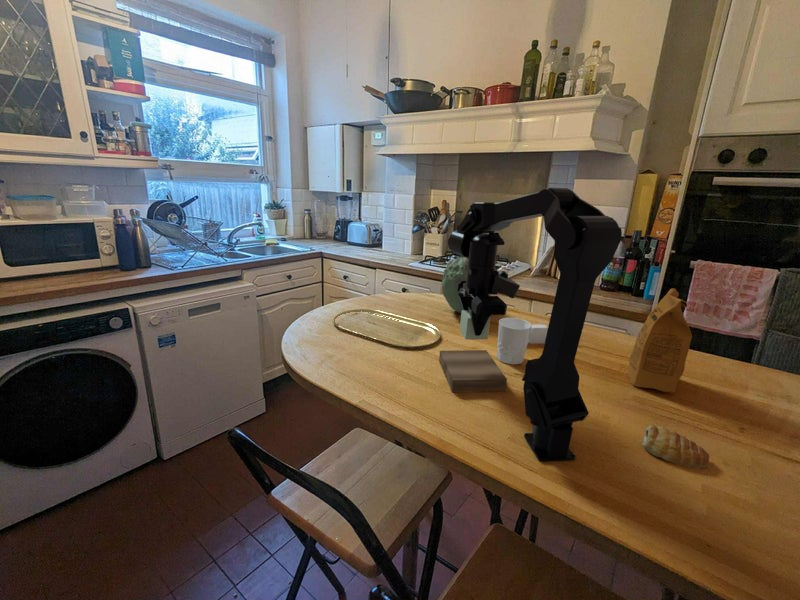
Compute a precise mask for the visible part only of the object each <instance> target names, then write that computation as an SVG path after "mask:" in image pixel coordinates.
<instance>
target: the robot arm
mask: <svg viewBox="0 0 800 600" xmlns="http://www.w3.org/2000/svg"><path fill="white" fill-rule="evenodd" d="M540 217H543V222H544V229H545V231H546V232H547V233H548V235H549V236H550V237H551V239H552V240H553V241H554V250H553V251H554V252H553V257H554V260H555V263H556V266H557V269H558V270H559V279H558V283H557V287H556V290H555V296H554V300H553V304H552V308H551V313H550V318H549V322H548V326H547V327H548V330H547V335H546V339H545V343H543V344H544V345H543V348H542V353H541V355H540V356H539V357H537V358H531V359H528V360H527V361H526V363H525V369H524V370H525V371H524V374H523V376H522V378H521V382H523V385H522V386H523V399H524V409H525V415H526V417H528V418H529V420H530V424H531V425H532V426H533V427H532V432H529V433H528V432H527V433H524V434H523V438H524V439H525V440H526V443H527V444H528V446H529V447H530V449H531V450H532V453H534V456H535V457H536V458H537V460H538V461H540V462H552V461H553V462H554V461H555V462H556V461H558V462H559V461H574V460H575V459H576V455H575V454H574V452H573V451H572V450H571V448H570V444H571V441H572V435H573V432H574V428H573V424H574V423H576V422H584V420H586V418H587V417H588V416H589V410H588V408H587V406H586V403H585V402H584V399H583V396H582V394H581V392H580V389H579V387H580V386H579V385H580V375H579V371H578V368H577V367H576V363H575V360H576V356H577V352H578V348H579V344H580V340H581V337H582V332H583V329H584V325H585V322H586V319H587V317H586V316H587V314H588V310H589V307H590V302H591V299H592V295H593V291H594V289H595V283H596V280H597V279H598V277H599V276H600V274H602V273H603V271H605V269H606V268H607V267H608V266H609V265H610V264H611V262H612V261H613V258H615V257H614V256H615V254H616V252H617V249H618V248H619V246H620V243H621V240H622V228H621V227H620V226H619V224H618V222H617V221H616V219H614V218H613V217H610V216H608V215H605V213H604V212H603V211H601V210H600V209H599V208H597V207H596V206H594V205H592V204H591V203H590V202H589V203H588V202H587V201H585V200H583V199H582V198H580V197H579V195H578V194H576V192H575V191H573V190H571V189H570V188H567V187H545V188H543V189H542V190H539V191H536V192H533V193H530V194H529V193H528V194H525V195H521V196H518V197H514V198H511V199H507V200H504V201H503V200H502V201H500V202H490V201H489V202H488V201H487V202H486V201H485V202H484V201H483V202H476V201H475V202H473V203H471V205H469V208H468V210H467V211H466V214H465V216H464V217H463V219H462V221H461V223H460V224H456V230H454V231H453V232H451V234H450V235H449V238H448V240H447V247H448V249H449V251H451V252H452V253H454V254H456V255H457V256H461V257H462V258H463V257H466V258H468V265H465V270H466V271H467V277H458V278H457V279H456V280H455V284H454V289H455V290H456V291H460V288H462V290H461V293H458V296H459V299H460V302H461V305H462V308H463V310H469V313H470V317H471V321H472V325H473V329H474V333H475V335H476V336H480V335H481V333H482V331H483V329H484V327H485V325H486V323H487V321H488V319H489V318H491V316H505V315H507V309H508V305H507V303H506V302H504V300H503V299H501V298H500V297H499V296H498V293H500V294H502V295H505V296H506V297H507V296H508V297H509V298H510V299H515V297H516V295H517V292H518V291H519V289H520V287H521V285H520V284H519V283H517V282H515V281H514V279H513V280H512V279H510V278H509V273H507V272H506V271H503V270H500V269H499V270H498V269H497V268H496V262H497V252H498V247H499V246H504V245H505V243H506V242H505V240H504V238H502V237H501V236H500V233H499V232H500V231H502V230H504V229H506V228H508V227H510V226H511V224H513V223H515V222H519V221H525V220H530V219H531V220H532V219H535V218H540ZM489 294H491V296H488V295H489Z"/></svg>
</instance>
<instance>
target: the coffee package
mask: <svg viewBox="0 0 800 600" xmlns="http://www.w3.org/2000/svg"><path fill="white" fill-rule="evenodd" d="M679 295H680V293H679V292H678V291H677V289H676V288H670V289H669V290H668V291H667V293H666V295H664V296H663V298H661V299H660V300H659V302H658V303H657V304H656V305H655V307H653V309H652V310H651V311H650V313H649V314H648V316H647V319H646V320H645V321H644V323H643V325H642V327H641V329H640V330H639V332H638V334H637V336H636V339H635V342H634V344H633V349H632V352H631V354H630V357H629V362H628V365H627V377H628V378H629V380H630V383H631V384H632V386H634V387H636V388H637V387H638V388H645V389H646V388H647V389H654V390H656V391H660V392H663V393H673V394H674V393H675V392H676V388H677V385H678V382H679V380H680V379H681V378H682V376H683V374H684V372H685V367H686V361H687V357H688V353H689V349H690V345H691V341H692V338H693V335H692V331H691V329H690V327H689V323H688V321H686V318H685V316H684V313H683V310H682V308H683V309H684V308H687V307H688V303H687V301H685V300H683V299H680V298H678V297H679Z"/></svg>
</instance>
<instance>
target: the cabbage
mask: <svg viewBox="0 0 800 600" xmlns="http://www.w3.org/2000/svg"><path fill="white" fill-rule="evenodd" d="M465 265H468V258H466V257H463V256H462V257H458V258H452V259H449V260H448V261H447V263H446V266H447V267H445V268H444V269H443V273H442V281H441V290H442V294H443V297H444V298H445V301H446V302H447V303H448V305H449V307H450V308H451V309H452V310H454V312H456V313H460V314H461V312H462V310H463V308H462V305H461V302H460V299H459V296H458V293H461V290H462V288H460V291H456V290H455V289H454V284H455V280H456V279H457V278H458V277H467V271H466V270H465ZM488 296H492V294H489V295H488Z"/></svg>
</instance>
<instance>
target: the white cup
mask: <svg viewBox="0 0 800 600" xmlns="http://www.w3.org/2000/svg"><path fill="white" fill-rule="evenodd" d="M532 325H533V324H532V323H531V322H529V321H527V320H525V319H522V318H517V317H503V318H501V319H499V320H498V329H497V330H498V331H497V332H498V333H497V341H496V342H497V343H496V344H497V345H496V348H497V350H496V351H497V352H496V358H497V359H498V361H500V362H502V363H504V364H508V365H515V366H516V365H521V364H522V363H523V362H524V361H525V357H526V356H525V355H526V352H527V348H528V345H529V343H528V341H529V336H530V331H531V327H532Z"/></svg>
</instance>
